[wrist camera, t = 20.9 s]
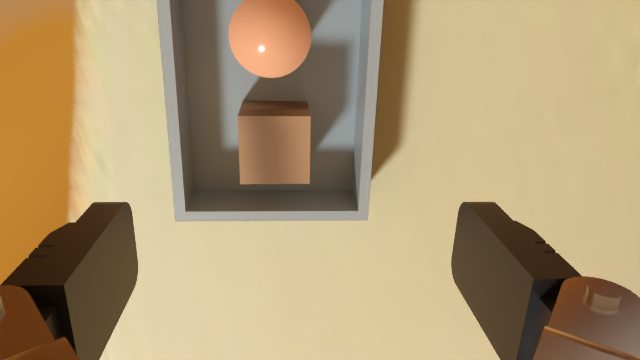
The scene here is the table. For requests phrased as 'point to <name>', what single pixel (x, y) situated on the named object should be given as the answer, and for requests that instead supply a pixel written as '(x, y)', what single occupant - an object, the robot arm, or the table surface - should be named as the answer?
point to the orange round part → (270, 36)
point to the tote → (241, 85)
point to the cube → (274, 142)
